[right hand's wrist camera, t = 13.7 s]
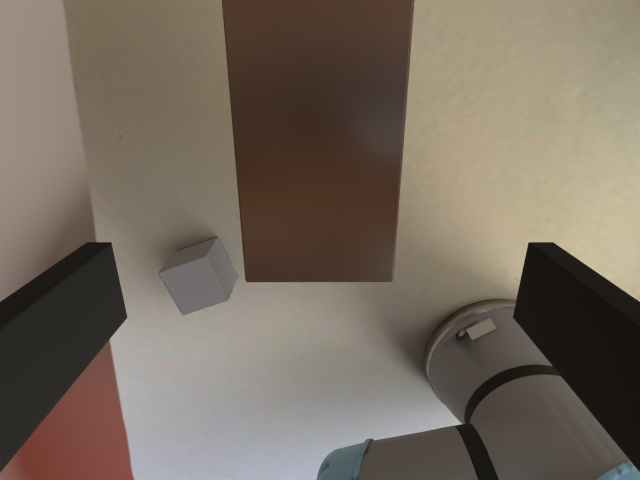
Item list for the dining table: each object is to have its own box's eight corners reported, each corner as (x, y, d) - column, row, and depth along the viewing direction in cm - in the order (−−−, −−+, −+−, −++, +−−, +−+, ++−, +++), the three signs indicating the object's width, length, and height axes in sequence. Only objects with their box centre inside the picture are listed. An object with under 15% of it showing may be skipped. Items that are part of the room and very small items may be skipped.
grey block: (218, 236, 41) (205, 256, 36) (238, 276, 43) (228, 300, 38) (175, 251, 42) (157, 273, 37) (197, 290, 43) (182, 315, 39)
